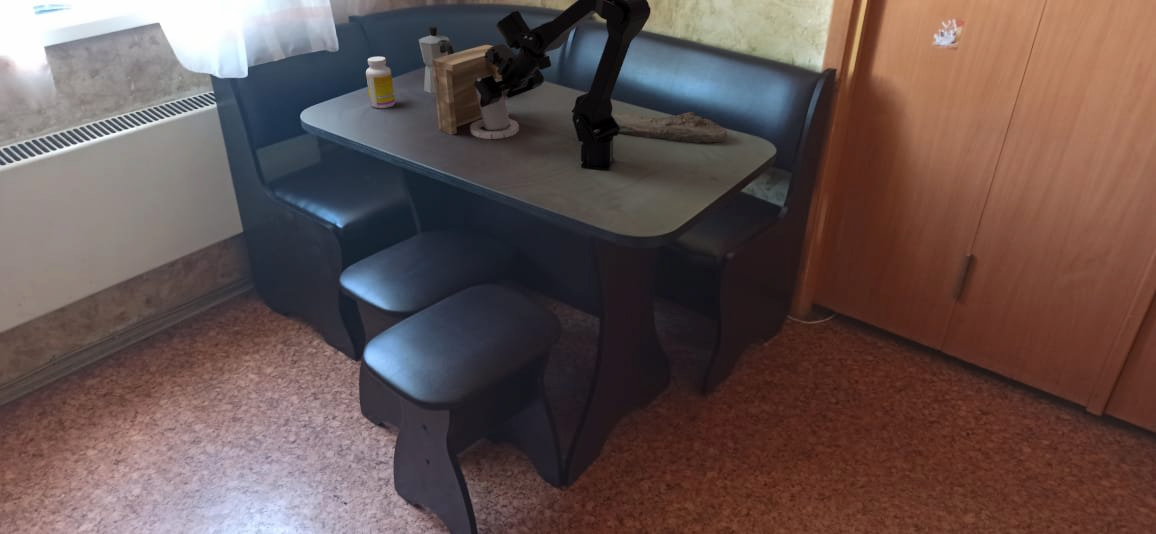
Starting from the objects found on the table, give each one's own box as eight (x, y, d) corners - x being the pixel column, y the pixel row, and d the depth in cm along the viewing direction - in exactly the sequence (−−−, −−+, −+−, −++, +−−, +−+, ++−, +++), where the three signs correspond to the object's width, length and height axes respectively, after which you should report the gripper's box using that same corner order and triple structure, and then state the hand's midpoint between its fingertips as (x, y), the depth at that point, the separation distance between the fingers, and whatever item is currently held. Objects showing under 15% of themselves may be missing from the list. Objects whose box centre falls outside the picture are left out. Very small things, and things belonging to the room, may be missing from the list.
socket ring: (524, 124, 201) (524, 119, 200) (508, 140, 191) (508, 136, 191) (481, 120, 204) (481, 115, 203) (463, 136, 194) (462, 131, 193)
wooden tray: (509, 117, 205) (506, 49, 196) (458, 136, 194) (452, 65, 185) (490, 111, 210) (486, 44, 200) (439, 130, 198) (432, 59, 189)
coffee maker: (414, 88, 228) (406, 25, 219) (439, 81, 233) (433, 20, 224) (443, 100, 218) (436, 35, 209) (468, 93, 224) (463, 29, 214)
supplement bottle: (400, 103, 216) (394, 57, 209) (383, 110, 211) (376, 63, 205) (382, 99, 219) (376, 54, 212) (365, 106, 214) (358, 59, 208)
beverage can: (499, 132, 193) (488, 84, 188) (480, 132, 196) (468, 85, 192) (515, 124, 197) (504, 77, 192) (496, 124, 201) (485, 78, 196)
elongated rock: (598, 123, 206) (585, 138, 198) (596, 104, 203) (583, 119, 195) (730, 132, 194) (722, 149, 186) (731, 112, 191) (722, 128, 183)
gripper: (533, 28, 188) (503, 65, 200) (476, 43, 176) (448, 83, 187) (558, 66, 187) (527, 101, 199) (503, 84, 175) (473, 121, 187)
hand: (494, 101), depth 193 cm, fingers open, 9 cm apart
